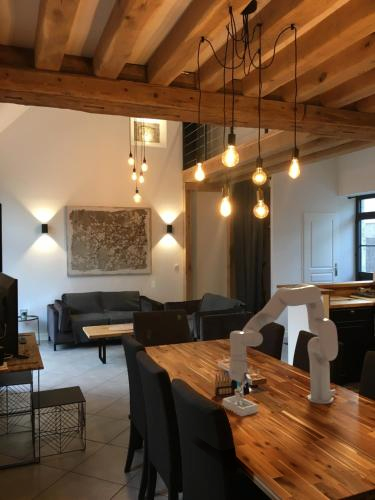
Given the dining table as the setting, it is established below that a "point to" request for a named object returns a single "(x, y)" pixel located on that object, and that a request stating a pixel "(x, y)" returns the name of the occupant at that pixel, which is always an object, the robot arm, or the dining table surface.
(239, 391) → the cylinder
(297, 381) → the dining table surface
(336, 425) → the dining table surface
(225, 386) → the ammunition clip
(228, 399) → the trough
